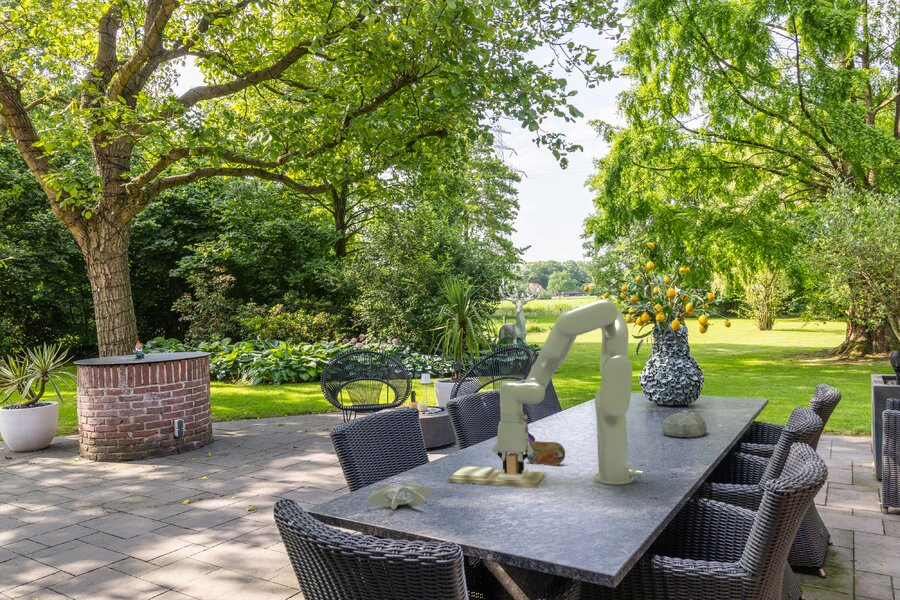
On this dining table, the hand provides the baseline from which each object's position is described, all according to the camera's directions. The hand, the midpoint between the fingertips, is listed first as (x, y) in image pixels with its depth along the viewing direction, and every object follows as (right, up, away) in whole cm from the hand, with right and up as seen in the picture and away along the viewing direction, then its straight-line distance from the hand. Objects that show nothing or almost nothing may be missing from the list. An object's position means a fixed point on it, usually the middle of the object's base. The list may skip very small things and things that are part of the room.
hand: (513, 471), depth 210 cm
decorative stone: (+83, -2, +66) cm, 106 cm away
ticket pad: (-5, -3, +2) cm, 6 cm away
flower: (+8, -4, +52) cm, 53 cm away
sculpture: (-36, -4, -23) cm, 43 cm away
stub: (0, -1, 0) cm, 1 cm away
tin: (+14, -3, +21) cm, 26 cm away
